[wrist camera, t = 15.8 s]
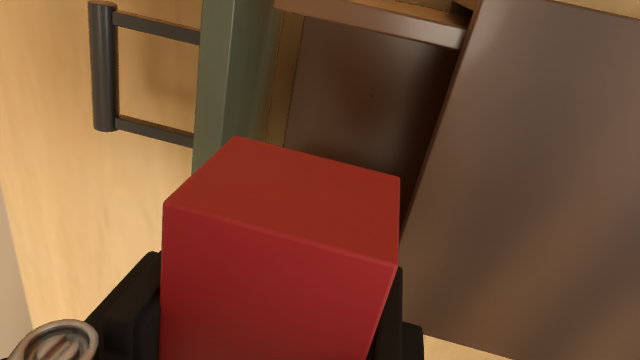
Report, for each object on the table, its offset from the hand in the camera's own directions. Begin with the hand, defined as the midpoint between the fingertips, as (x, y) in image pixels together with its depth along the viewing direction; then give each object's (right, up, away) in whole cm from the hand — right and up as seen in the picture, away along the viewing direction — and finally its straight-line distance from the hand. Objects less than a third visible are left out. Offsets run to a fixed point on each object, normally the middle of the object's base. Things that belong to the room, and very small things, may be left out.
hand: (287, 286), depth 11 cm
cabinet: (+14, +4, +12) cm, 19 cm away
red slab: (0, 0, 0) cm, 0 cm away
